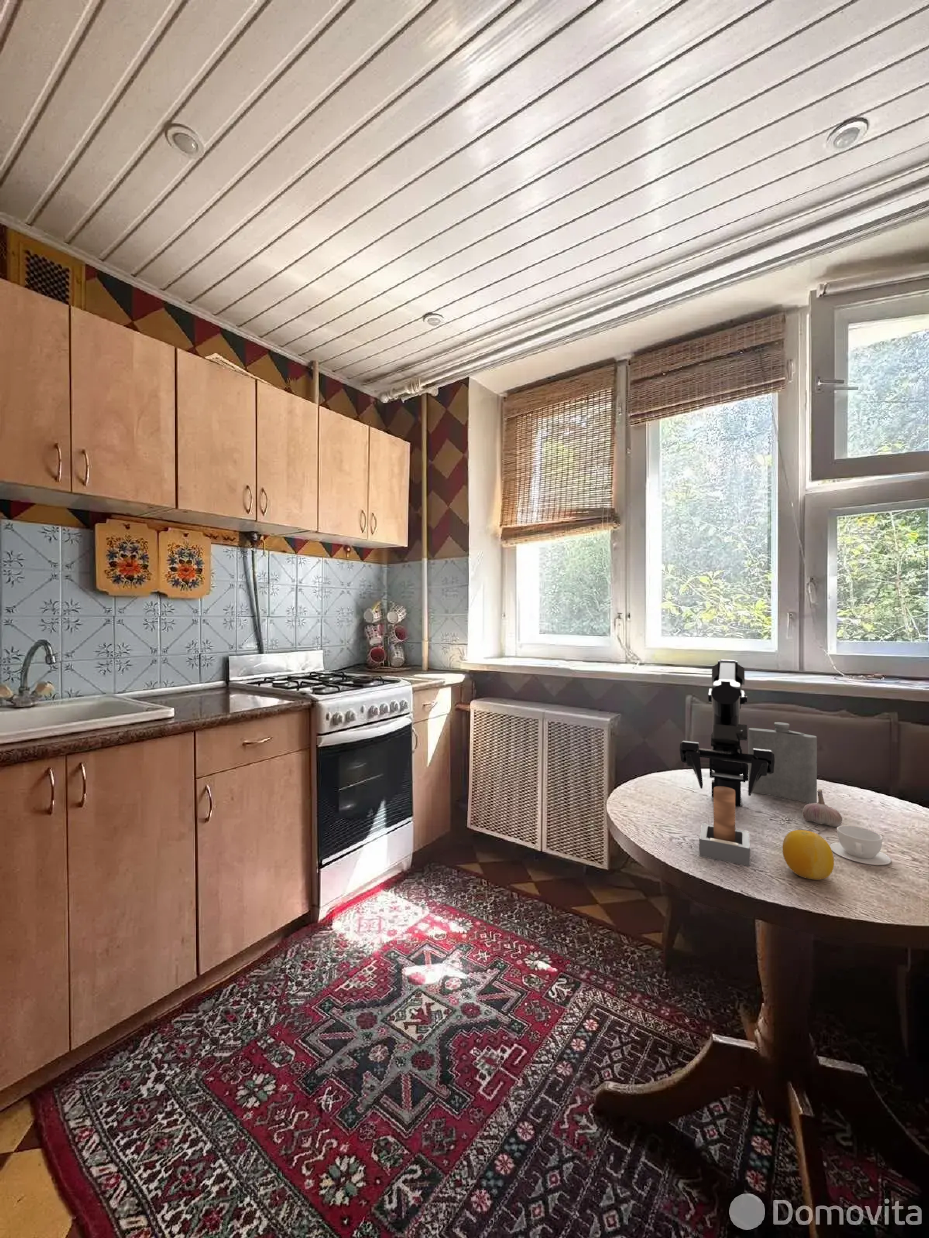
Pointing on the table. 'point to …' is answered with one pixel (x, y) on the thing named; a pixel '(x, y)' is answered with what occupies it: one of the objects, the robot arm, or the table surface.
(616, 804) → the table surface
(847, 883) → the table surface
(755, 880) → the table surface
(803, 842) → the fruit
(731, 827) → the peg
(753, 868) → the table surface
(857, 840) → the teacup
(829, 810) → the garlic bulb
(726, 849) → the socket block
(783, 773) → the hip flask
